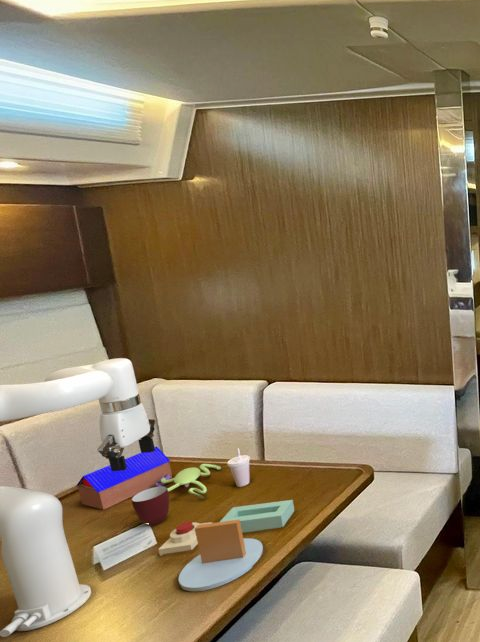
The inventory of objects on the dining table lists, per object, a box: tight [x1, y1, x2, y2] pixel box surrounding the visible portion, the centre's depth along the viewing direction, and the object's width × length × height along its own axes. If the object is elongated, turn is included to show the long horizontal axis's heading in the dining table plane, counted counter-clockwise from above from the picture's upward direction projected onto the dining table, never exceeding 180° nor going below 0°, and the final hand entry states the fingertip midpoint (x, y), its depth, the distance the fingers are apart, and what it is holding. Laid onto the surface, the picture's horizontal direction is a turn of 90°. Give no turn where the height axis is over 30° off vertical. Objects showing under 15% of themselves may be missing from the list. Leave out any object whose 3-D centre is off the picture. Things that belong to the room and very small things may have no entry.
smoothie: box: [227, 447, 251, 488], centre depth 161 cm, size 6×6×14 cm
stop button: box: [175, 521, 193, 535], centre depth 133 cm, size 4×4×2 cm
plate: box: [178, 537, 264, 592], centre depth 125 cm, size 18×18×1 cm
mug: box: [131, 485, 170, 527], centre depth 142 cm, size 11×8×10 cm
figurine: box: [155, 463, 222, 500], centre depth 158 cm, size 18×27×6 cm
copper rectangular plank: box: [195, 520, 246, 563], centre depth 124 cm, size 2×10×11 cm, turn 102°
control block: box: [158, 521, 213, 557], centre depth 133 cm, size 10×8×4 cm
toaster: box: [219, 499, 295, 534], centre depth 141 cm, size 8×17×4 cm, turn 102°
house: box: [75, 446, 173, 510], centre depth 158 cm, size 12×20×12 cm, turn 163°
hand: (134, 460), depth 126 cm, fingers open, 9 cm apart
